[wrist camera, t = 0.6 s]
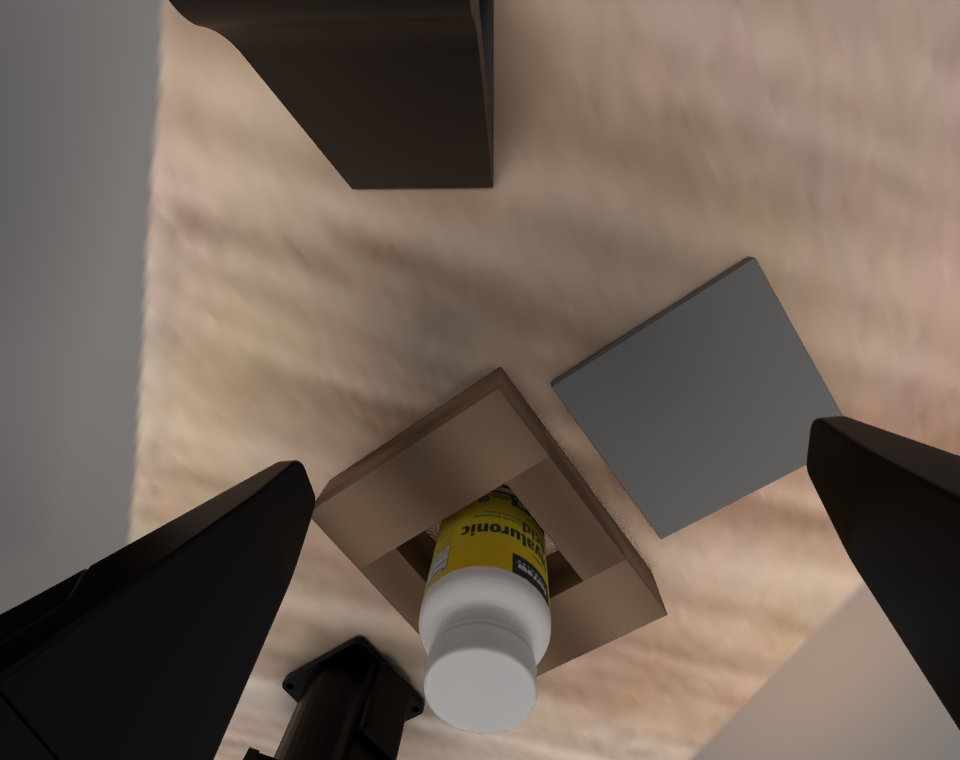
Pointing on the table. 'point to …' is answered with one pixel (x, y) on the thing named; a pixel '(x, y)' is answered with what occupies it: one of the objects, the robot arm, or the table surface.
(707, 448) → the coaster
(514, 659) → the supplement bottle
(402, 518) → the pocket holder
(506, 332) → the table surface
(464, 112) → the phone stand
